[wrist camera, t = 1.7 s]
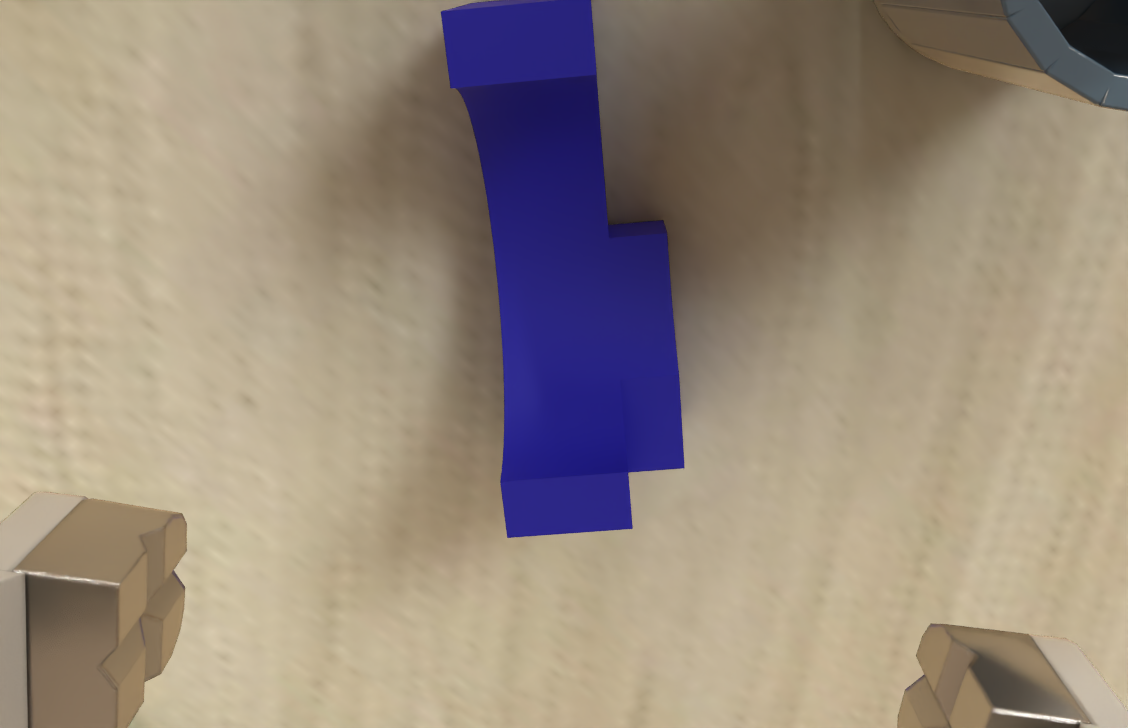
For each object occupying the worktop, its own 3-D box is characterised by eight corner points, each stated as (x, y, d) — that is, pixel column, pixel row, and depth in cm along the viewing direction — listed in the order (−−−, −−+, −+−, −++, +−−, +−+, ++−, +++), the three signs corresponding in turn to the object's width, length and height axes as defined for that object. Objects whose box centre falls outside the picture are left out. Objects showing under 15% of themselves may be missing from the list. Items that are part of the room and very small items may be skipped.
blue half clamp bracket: (675, 422, 30) (695, 524, 25) (521, 434, 31) (507, 537, 25) (648, -14, 26) (666, -11, 21) (471, 3, 27) (440, 12, 21)
